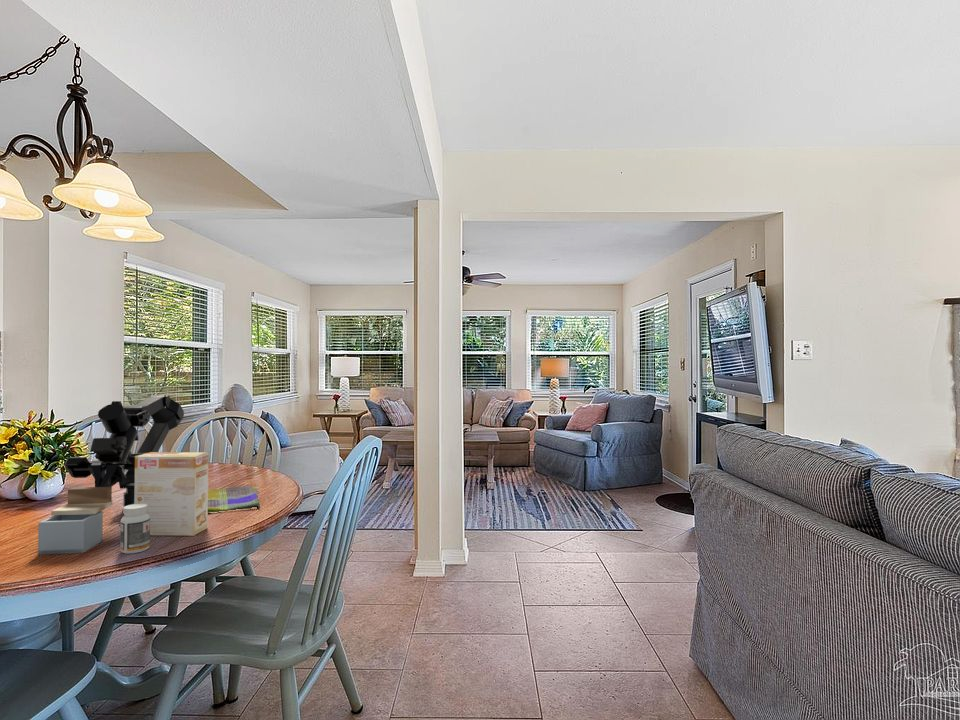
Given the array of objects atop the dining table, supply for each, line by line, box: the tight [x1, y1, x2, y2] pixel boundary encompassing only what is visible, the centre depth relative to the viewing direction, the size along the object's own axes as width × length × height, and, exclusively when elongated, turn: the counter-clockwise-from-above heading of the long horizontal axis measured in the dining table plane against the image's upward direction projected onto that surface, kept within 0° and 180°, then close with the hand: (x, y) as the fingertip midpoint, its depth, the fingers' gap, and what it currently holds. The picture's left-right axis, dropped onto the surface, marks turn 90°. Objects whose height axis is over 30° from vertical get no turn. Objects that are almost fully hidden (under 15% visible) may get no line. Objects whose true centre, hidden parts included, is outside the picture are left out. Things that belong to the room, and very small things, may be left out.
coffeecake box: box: [134, 451, 209, 537], centre depth 136 cm, size 15×7×20 cm, turn 90°
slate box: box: [37, 510, 104, 555], centre depth 123 cm, size 8×9×7 cm
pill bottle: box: [119, 504, 151, 555], centre depth 122 cm, size 6×6×10 cm
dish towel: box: [208, 484, 260, 513], centre depth 165 cm, size 18×24×3 cm
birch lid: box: [50, 486, 113, 516], centre depth 128 cm, size 8×9×4 cm
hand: (97, 495), depth 134 cm, fingers closed
